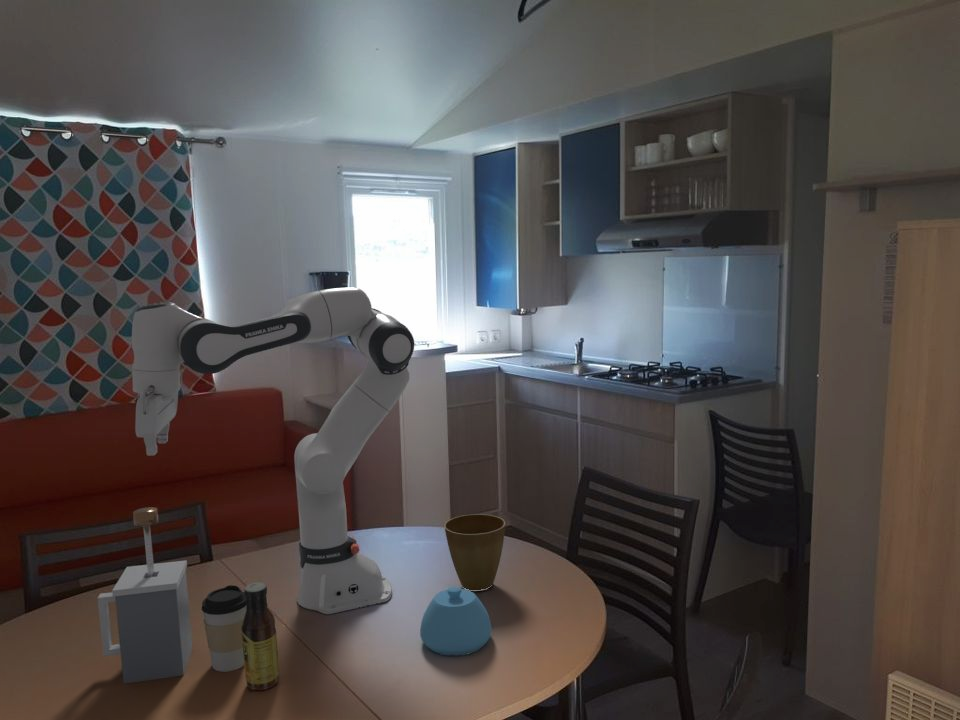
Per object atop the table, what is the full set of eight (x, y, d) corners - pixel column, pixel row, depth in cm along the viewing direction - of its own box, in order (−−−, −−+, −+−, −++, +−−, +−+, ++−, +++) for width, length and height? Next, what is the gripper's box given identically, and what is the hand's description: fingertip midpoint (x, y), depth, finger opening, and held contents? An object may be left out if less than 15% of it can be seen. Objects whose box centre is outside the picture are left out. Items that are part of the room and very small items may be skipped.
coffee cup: (239, 676, 146) (233, 603, 144) (197, 672, 148) (191, 601, 146) (261, 652, 154) (256, 583, 153) (221, 649, 156) (216, 581, 154)
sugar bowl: (500, 628, 162) (499, 578, 160) (478, 664, 148) (476, 609, 146) (436, 620, 167) (434, 570, 165) (409, 653, 152) (406, 600, 151)
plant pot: (518, 580, 186) (516, 518, 184) (486, 604, 173) (484, 538, 171) (468, 569, 194) (466, 509, 192) (434, 591, 181) (432, 527, 179)
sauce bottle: (250, 675, 146) (242, 579, 143) (282, 673, 146) (275, 577, 144) (242, 694, 139) (234, 594, 137) (276, 692, 140) (269, 591, 137)
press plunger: (168, 607, 152) (159, 506, 149) (164, 617, 148) (154, 513, 145) (145, 610, 151) (135, 508, 148) (140, 620, 147) (130, 515, 144)
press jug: (194, 646, 158) (186, 560, 155) (185, 675, 147) (176, 583, 144) (114, 657, 154) (105, 569, 152) (98, 688, 143) (88, 593, 141)
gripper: (161, 391, 141) (162, 462, 143) (182, 374, 161) (183, 436, 163) (125, 391, 140) (127, 462, 142) (151, 373, 160) (152, 436, 162)
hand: (157, 448), depth 153 cm, fingers open, 8 cm apart
